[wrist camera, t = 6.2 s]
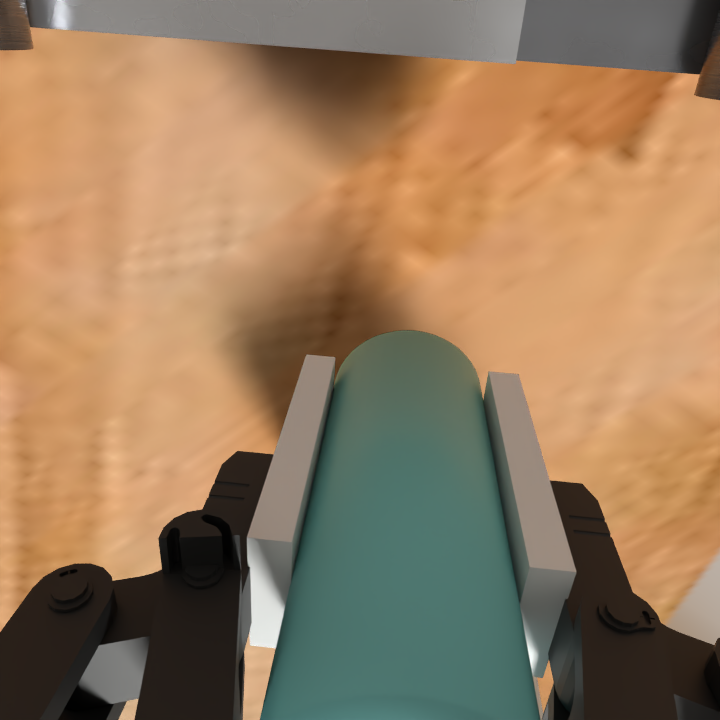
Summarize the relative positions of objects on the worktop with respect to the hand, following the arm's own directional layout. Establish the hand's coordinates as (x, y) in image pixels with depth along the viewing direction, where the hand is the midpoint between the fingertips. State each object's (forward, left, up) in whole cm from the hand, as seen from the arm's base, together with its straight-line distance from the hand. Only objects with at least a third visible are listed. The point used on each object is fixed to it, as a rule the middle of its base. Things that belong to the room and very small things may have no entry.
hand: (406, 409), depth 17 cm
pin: (0, 0, -1) cm, 1 cm away
